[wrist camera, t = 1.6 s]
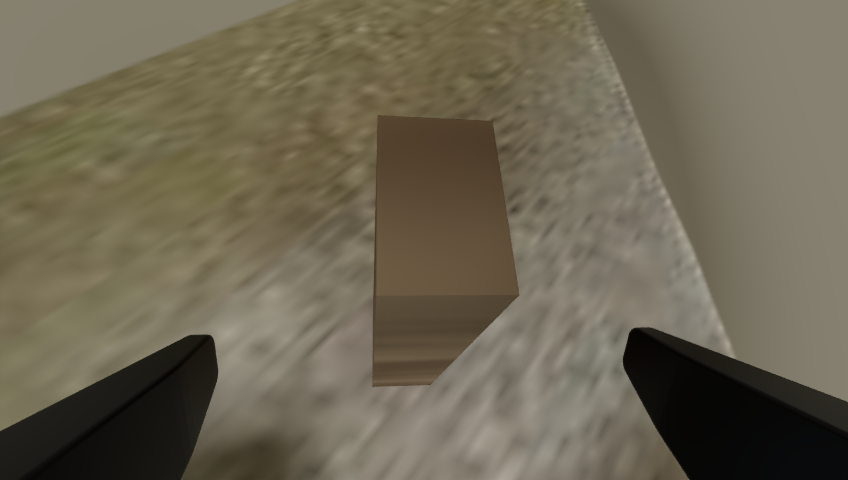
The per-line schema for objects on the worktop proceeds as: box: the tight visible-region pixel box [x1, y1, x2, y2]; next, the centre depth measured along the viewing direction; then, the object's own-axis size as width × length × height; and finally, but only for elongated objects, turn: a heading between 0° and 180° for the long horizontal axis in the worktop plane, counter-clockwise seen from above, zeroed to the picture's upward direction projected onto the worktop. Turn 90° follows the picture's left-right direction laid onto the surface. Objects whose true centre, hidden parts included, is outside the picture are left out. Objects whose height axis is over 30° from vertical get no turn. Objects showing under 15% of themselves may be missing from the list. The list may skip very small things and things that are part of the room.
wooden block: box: [372, 115, 519, 387], centre depth 13 cm, size 4×2×12 cm, turn 2°
